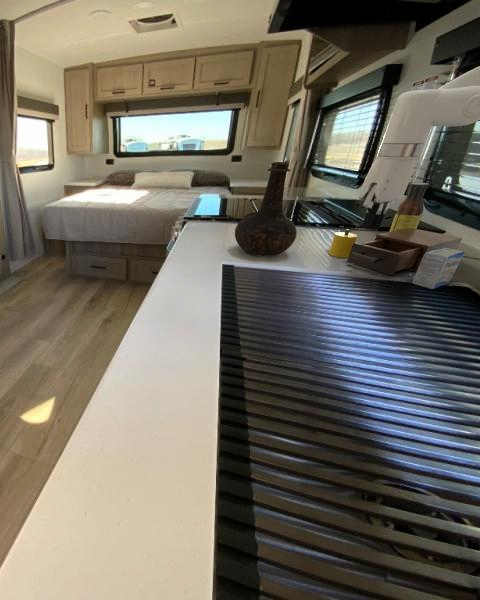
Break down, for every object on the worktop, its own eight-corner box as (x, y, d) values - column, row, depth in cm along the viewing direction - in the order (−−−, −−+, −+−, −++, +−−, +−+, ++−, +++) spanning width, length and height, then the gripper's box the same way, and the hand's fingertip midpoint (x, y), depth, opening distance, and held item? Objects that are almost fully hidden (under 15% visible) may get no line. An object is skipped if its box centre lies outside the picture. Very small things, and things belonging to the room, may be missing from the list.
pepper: (354, 256, 104) (363, 230, 100) (342, 258, 102) (350, 233, 99) (337, 251, 109) (345, 226, 105) (324, 253, 107) (332, 228, 103)
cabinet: (416, 272, 91) (428, 246, 88) (367, 258, 102) (376, 234, 98) (449, 263, 96) (462, 237, 93) (399, 250, 107) (409, 227, 103)
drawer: (380, 278, 87) (389, 257, 84) (336, 264, 97) (343, 245, 94) (424, 266, 93) (433, 246, 90) (378, 254, 102) (386, 236, 100)
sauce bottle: (414, 248, 108) (442, 184, 99) (394, 248, 109) (420, 185, 100) (397, 242, 114) (422, 181, 105) (379, 242, 114) (402, 182, 105)
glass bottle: (260, 241, 120) (278, 158, 108) (304, 256, 105) (331, 162, 93) (220, 248, 116) (233, 162, 103) (259, 265, 101) (281, 166, 88)
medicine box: (432, 290, 82) (449, 257, 78) (410, 283, 85) (425, 251, 81) (449, 283, 84) (466, 251, 80) (427, 277, 88) (442, 246, 84)
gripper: (400, 149, 83) (373, 222, 92) (360, 152, 78) (335, 228, 87) (438, 150, 77) (404, 228, 85) (397, 154, 72) (366, 236, 81)
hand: (370, 228), depth 86 cm, fingers closed
